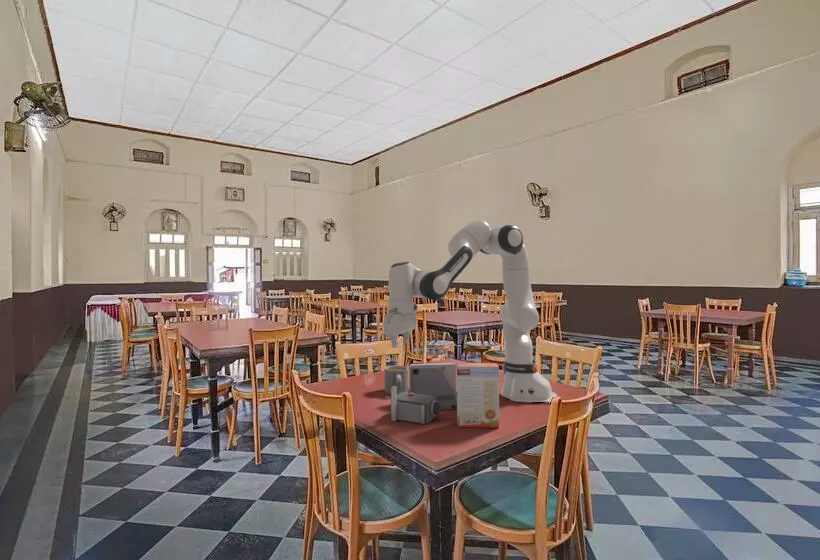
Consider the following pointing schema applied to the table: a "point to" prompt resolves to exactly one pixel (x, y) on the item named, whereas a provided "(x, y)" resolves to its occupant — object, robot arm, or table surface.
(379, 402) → the table surface
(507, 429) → the table surface
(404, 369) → the coffee mug
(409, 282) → the robot arm
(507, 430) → the table surface
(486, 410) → the cracker box
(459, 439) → the table surface
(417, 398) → the camera box
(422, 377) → the instant camera
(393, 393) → the side door
